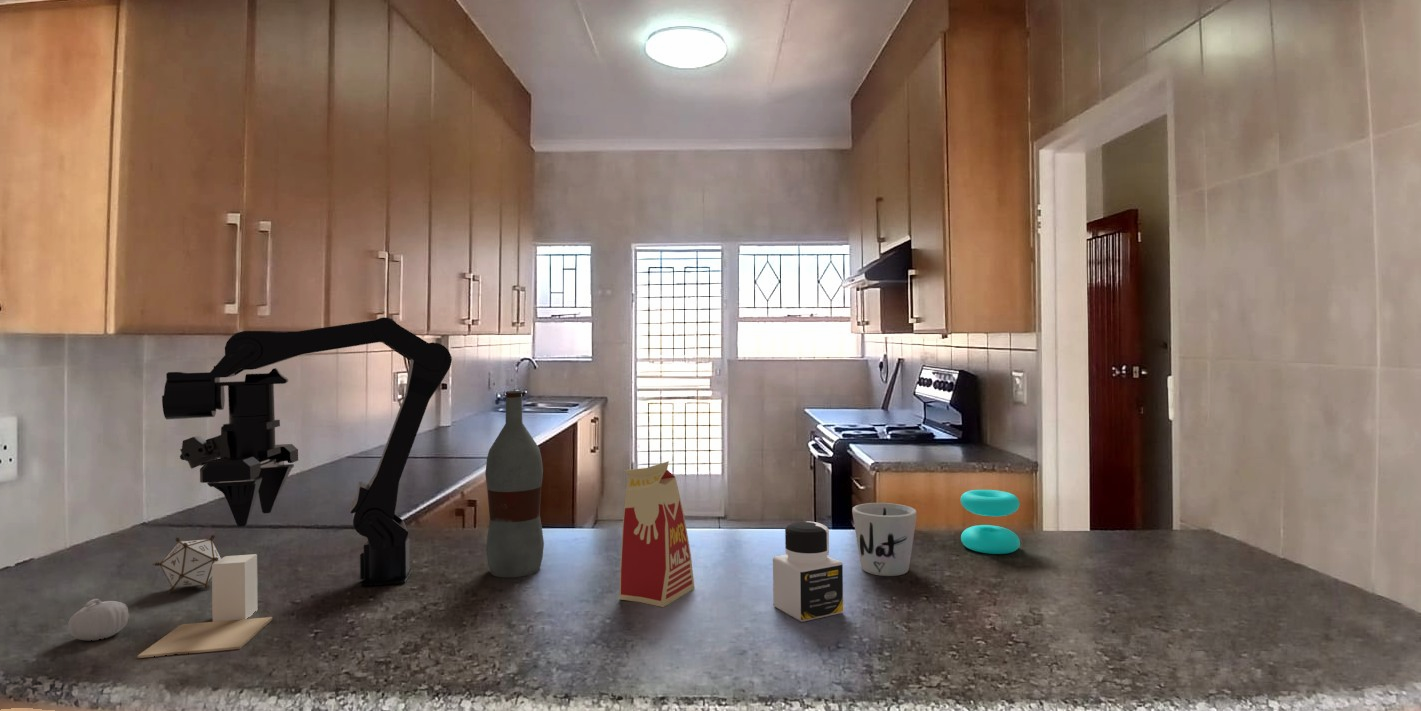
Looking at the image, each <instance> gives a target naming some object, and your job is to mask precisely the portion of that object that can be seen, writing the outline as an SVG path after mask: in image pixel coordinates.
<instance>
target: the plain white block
mask: <svg viewBox="0 0 1421 711" xmlns="http://www.w3.org/2000/svg"><path fill="white" fill-rule="evenodd" d="M221 558H222V559H220V560H218V561H217V562H215V563H213V564H212V578H211V597H212V598H211V602H212V606H211V607H212V610H211V612H212V622H216V621H229V620H241V619H247V618H248V617H249V618H250V617H252V615H254V614H255V613H256V612H257V611H258V610H259V609H258V607H259V606H258V600H259V598H258V554H256V553H254V554H253V553H252V554H241V555H240V554H239V555H225V556H223V557H221ZM255 611H256V612H255ZM254 612H255V613H254ZM253 613H254V614H253ZM249 618H248V619H249Z"/></svg>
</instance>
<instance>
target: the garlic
mask: <svg viewBox="0 0 1421 711" xmlns="http://www.w3.org/2000/svg"><path fill="white" fill-rule="evenodd" d="M129 616H130V615H129V608H128V606H127V604H125V603H124V602H120V601H116V600H105V601H101V600H100V599H98V598H93V599H91V600H88V601H87V602H86V603H85V604H84V607H82V608H81V609H80V610H78V611H77V612H75V613H74V614H72V616H71V617H70V618H69V619H68V623H67V629H68V632H69V634H70V635H71V636H72V637H73V638H74V639H77V640H81V641H91V640H92V641H100V640H99V639H101V640H104V638H105V639H108V638H110V637H112V636H114V635H116V634H117V633H119V632H121V630H122V629H124V628H125V626H126V625H127V624H128V621H129Z"/></svg>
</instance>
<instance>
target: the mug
mask: <svg viewBox="0 0 1421 711" xmlns="http://www.w3.org/2000/svg"><path fill="white" fill-rule="evenodd" d="M851 512H852V519H853V524H854V529H855V532H854V533H855V537H856V544H857V548H858V555H859V562H860V568H861V569H862V570H863V571H864V572H866V573H869V574H872V575H876V576H880V577H896V576H901V575H905V574H906V573H908V572H909V569H910V564H911V563H910V562H911V556H912V549H913V544H914V543H913V542H914V535H915V530H916V529H915V528H916V523H917V522H916V521H917V517H918V516H917V515H918V512H917V510H916V509H915V508H913V507H912V506H908V505H904V504H900V503H891V502H868V503H866V502H865V503H862V504H857V505H855V506H853V507H852V510H851Z"/></svg>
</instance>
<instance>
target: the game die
mask: <svg viewBox="0 0 1421 711" xmlns="http://www.w3.org/2000/svg"><path fill="white" fill-rule="evenodd" d="M215 538H216V533H214V534H212V535H211V536H210V538H202V539H190V540H181V539H180V537H177V536H176V537H175V542H177V543H175V545H174V546H173V547H172V548H171V550H170V551H169V552H168V554H166V556H165V557H164V558H163V559H162V561H161V562H159V561H158V562H157V561H156V562H155V563H153V564H152V565H153V566H155V567H159V566H160V568H161V569H162V571H163V573H164V576H165V578H166V579H167V581H168V583H169V584H170V586H171V587H170V588H169V590H168V594H171V593H173V591H174V590H175V589H181V588H191V587H199V586H200V587H201V586H204V589H206V590H210V584H208V583H209V582H210V580H212V564H213V563H215V562H217V561H218V560H220V559H222V558H223V557H221V554H220V553H219V551H218V548H217V546H216V544H215V542H214V541H213V540H214V539H215Z"/></svg>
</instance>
